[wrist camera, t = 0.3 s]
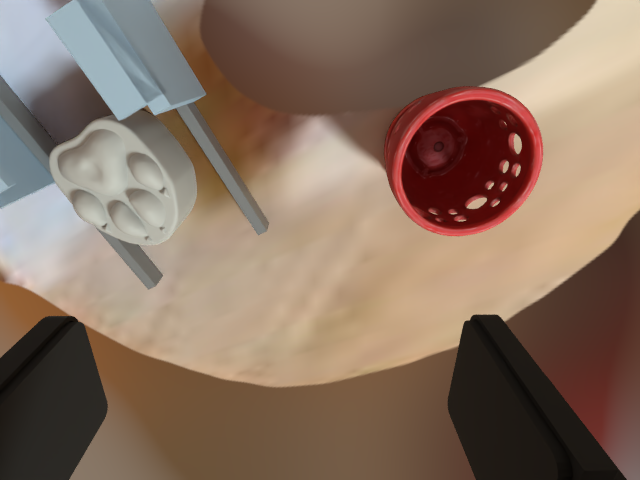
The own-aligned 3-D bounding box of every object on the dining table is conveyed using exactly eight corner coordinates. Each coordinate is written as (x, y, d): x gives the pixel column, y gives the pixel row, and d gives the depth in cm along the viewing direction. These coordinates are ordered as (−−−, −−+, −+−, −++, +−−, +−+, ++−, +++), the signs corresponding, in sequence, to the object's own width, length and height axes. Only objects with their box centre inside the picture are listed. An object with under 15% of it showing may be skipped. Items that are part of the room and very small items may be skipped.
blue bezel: (-11, 101, 40) (-122, 114, 30) (147, -4, 37) (82, -30, 26) (58, 181, 44) (-20, 218, 34) (206, 94, 40) (170, 105, 30)
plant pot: (502, 88, 41) (570, 97, 30) (468, 202, 47) (516, 244, 36) (383, 73, 40) (411, 78, 29) (364, 191, 46) (380, 232, 35)
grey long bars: (-14, 74, 39) (-34, 75, 37) (119, -16, 36) (106, -22, 34) (155, 279, 50) (148, 289, 48) (268, 222, 47) (266, 231, 45)
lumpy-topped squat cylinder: (146, 97, 41) (106, 106, 33) (218, 197, 46) (199, 225, 38) (74, 146, 43) (21, 166, 35) (151, 236, 48) (120, 271, 40)
